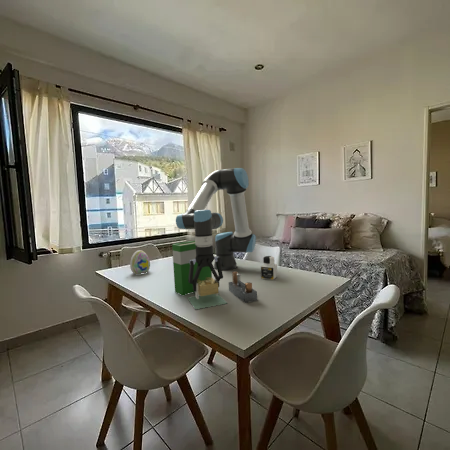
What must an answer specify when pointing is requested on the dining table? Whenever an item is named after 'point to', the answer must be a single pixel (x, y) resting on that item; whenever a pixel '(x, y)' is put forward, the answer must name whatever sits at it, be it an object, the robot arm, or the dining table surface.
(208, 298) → the mat
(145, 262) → the decorative egg
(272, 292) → the dining table surface
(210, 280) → the lever cap
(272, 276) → the medicine bottle
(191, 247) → the hardback book
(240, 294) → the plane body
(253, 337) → the dining table surface
